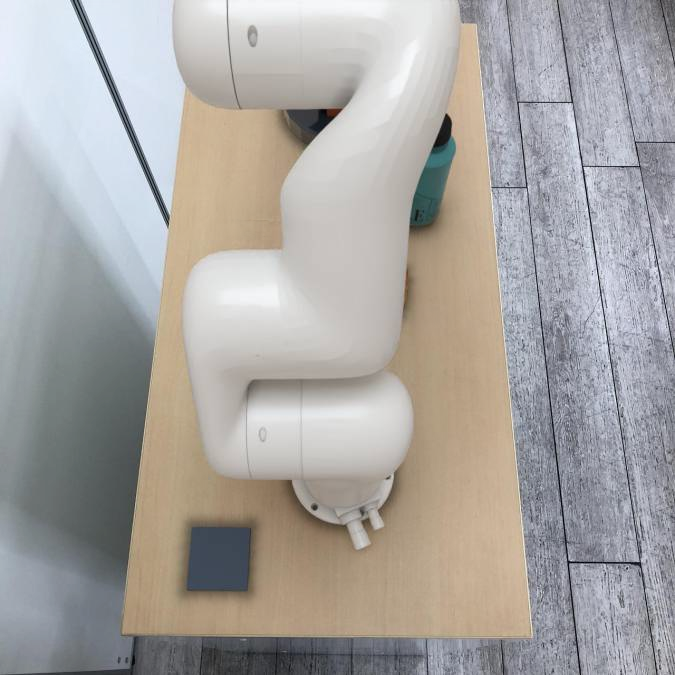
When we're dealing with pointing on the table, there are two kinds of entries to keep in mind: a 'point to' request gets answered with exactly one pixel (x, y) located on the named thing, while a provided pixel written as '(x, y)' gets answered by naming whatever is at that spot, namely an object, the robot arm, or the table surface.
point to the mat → (219, 558)
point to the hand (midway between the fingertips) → (339, 104)
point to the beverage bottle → (434, 177)
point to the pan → (307, 122)
